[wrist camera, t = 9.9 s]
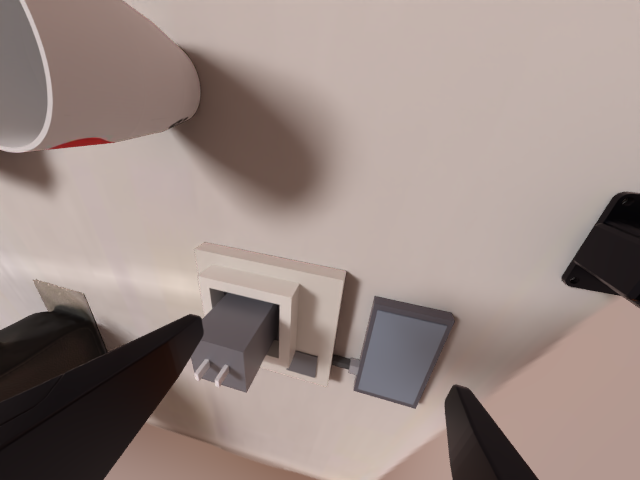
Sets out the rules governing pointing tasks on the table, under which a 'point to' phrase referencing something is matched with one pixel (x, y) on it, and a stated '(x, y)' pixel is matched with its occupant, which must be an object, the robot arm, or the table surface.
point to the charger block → (235, 341)
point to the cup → (87, 75)
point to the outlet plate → (280, 304)
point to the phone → (401, 350)
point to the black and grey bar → (347, 364)
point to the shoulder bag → (48, 341)
